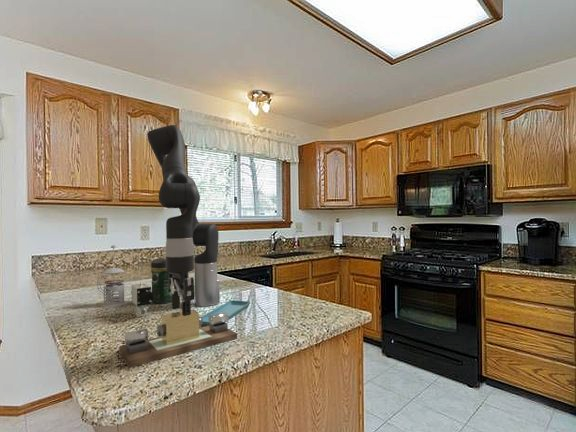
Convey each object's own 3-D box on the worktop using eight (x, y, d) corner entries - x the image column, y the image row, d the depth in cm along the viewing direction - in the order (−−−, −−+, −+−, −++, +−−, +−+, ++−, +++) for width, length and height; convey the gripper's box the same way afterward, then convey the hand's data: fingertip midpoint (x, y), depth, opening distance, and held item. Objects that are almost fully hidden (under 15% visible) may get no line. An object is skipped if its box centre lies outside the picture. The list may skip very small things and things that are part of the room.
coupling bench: (219, 328, 105) (218, 307, 105) (237, 338, 96) (236, 316, 96) (119, 351, 87) (119, 327, 88) (129, 367, 78) (128, 340, 78)
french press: (119, 307, 133) (118, 245, 133) (91, 307, 133) (90, 246, 134) (131, 301, 143) (130, 244, 143) (105, 301, 143) (104, 244, 143)
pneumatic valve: (138, 320, 115) (138, 286, 115) (131, 313, 124) (130, 281, 124) (155, 317, 118) (154, 284, 118) (146, 310, 127) (146, 279, 127)
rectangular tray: (218, 329, 106) (218, 321, 106) (194, 326, 108) (194, 319, 108) (251, 307, 131) (251, 301, 131) (230, 306, 133) (230, 300, 133)
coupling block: (198, 332, 97) (197, 308, 97) (204, 336, 93) (203, 311, 93) (156, 341, 90) (155, 316, 90) (160, 346, 86) (160, 320, 86)
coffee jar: (177, 301, 141) (176, 258, 141) (160, 305, 135) (160, 260, 135) (164, 298, 147) (164, 257, 147) (148, 301, 141) (147, 258, 141)
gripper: (202, 255, 88) (203, 315, 88) (184, 251, 100) (185, 304, 100) (175, 257, 84) (176, 320, 84) (158, 253, 95) (159, 309, 95)
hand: (180, 311), depth 92 cm, fingers open, 8 cm apart
